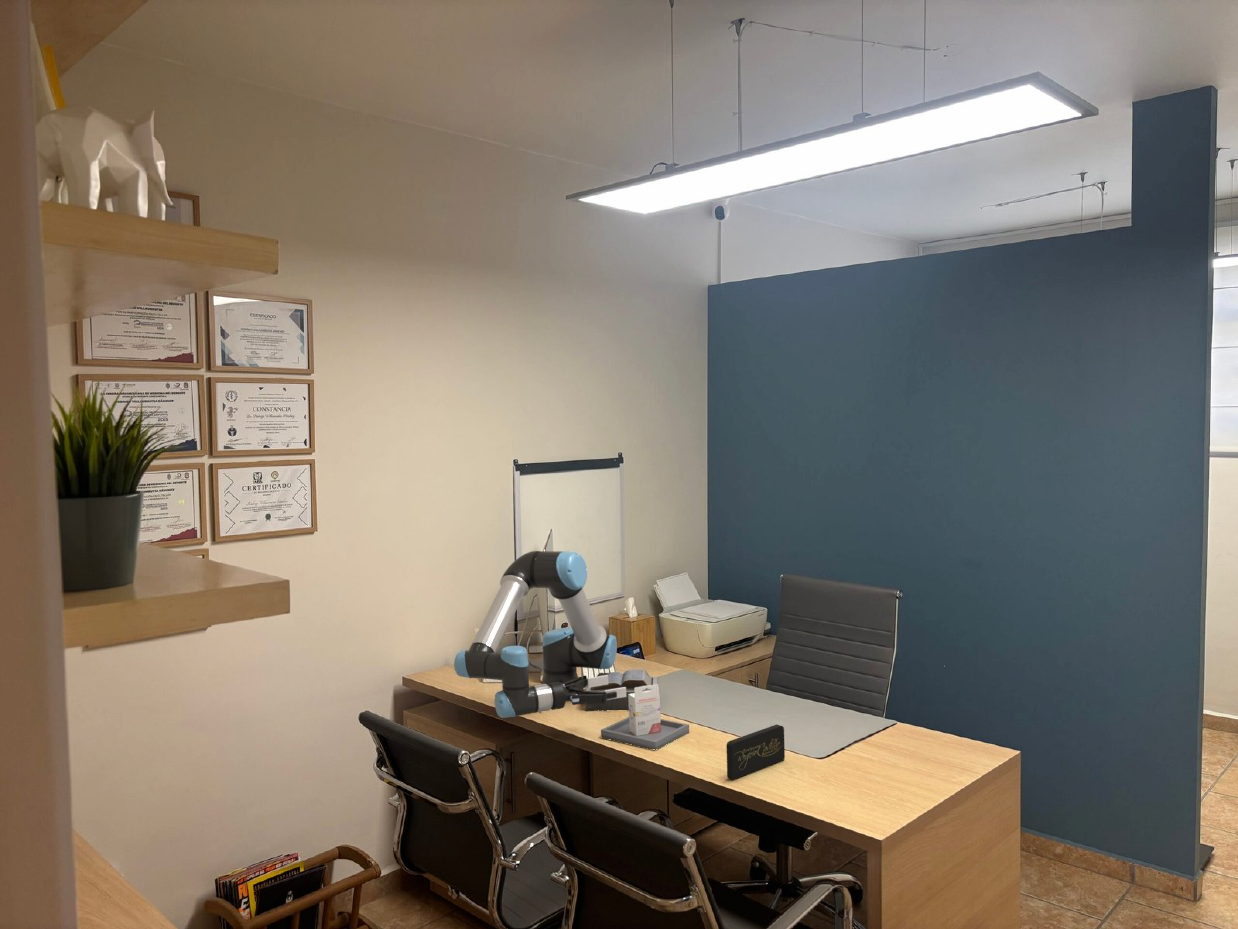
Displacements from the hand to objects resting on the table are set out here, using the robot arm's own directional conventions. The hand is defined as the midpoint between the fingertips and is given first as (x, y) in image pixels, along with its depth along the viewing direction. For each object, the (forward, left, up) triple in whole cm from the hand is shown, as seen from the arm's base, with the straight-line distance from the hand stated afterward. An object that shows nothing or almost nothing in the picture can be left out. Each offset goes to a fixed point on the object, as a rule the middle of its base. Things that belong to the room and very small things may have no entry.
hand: (616, 685), depth 265 cm
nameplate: (-2, +45, -17) cm, 48 cm away
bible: (-31, -21, -17) cm, 41 cm away
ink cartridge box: (-8, +4, -16) cm, 18 cm away
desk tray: (-8, +4, -17) cm, 19 cm away
